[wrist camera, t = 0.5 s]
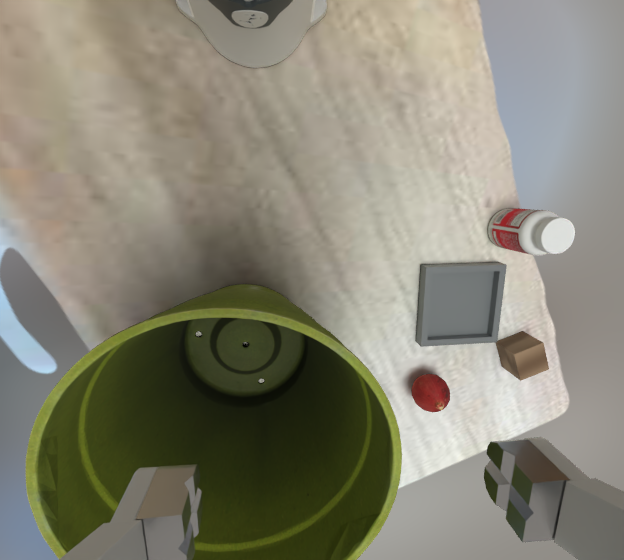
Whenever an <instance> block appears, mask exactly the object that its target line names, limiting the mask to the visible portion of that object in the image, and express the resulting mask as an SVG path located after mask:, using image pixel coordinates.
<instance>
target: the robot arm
mask: <svg viewBox="0 0 624 560" xmlns="http://www.w3.org/2000/svg"><path fill="white" fill-rule="evenodd" d="M176 3H177V7H178V9H179V10H180V11H181V12H182V13H183V14H184V15H185V16H186V17H187V18H189V19H190V20H191V21H193V22H194V23H196V24H197V25H198V26H199V27H200V29H201V30H202V31H203V33H204V35H205V36H206V38H207V39H208V41H209V42H210V43H211V45H212V46H213V47H214V48H215V49H216V50H217V51H218V52H219V53H220V54H221V55H223V56H224V57H225V58H227V59H229V60H230V61H232V62H234V63H236V64H239V65H242V66H246V67H252V68H262V67H268V66H272V65H274V64H277V63H279V62H281V61H283V60H284V59H286V58H287V57H288V56H289V55H290V54H291V53H292V52H293V51H294V50H295V49H296V48H297V47H298V45H299V44H300V42H301V40H302V39H303V37H304V35H305V33H306V32H307V31H308V29H309V28H310V27H312V26H313V25H315V24H316V23H317V22H319V21H320V20H321V19H322V18H323V17H324V16H325V14H326V9H327V3H326V0H176ZM487 455H488V456H489V458H490V459H491V461H490V462H489V463H488V464H487V465H486V467H485V472H484V480H485V484H486V489H487V491H488V493H489V495H490V497H491V499H492V500H493V501H494V503H495V504H496V505H497V506H499V507H500V508H502V509H503V510H505V511H506V520H507V521H508V523H509V524H510V525H511V527H512V528H513V529H514V531H515V532H516V534H517V535H518V537H519V538H520V539H521V541H522V542H532V541H546V540H554V542H555V543H556V544H558V545H559V546H560V547H562V548H563V549H565V550H566V551H567V552H569V553H570V554H571V555H573V556H574V557H575V558H577V559H578V560H624V491H621V490H619V489H617V488H615V487H613V486H611V485H608V484H606V483H604V482H602V481H600V480H598V479H590V478H589V477H587V476H586V475H585V474H584V473H583V472H582V471H581V470H580V469H579V468H577V467H576V466H575V465H574V464H573V463H572V462H571V461H570V460H568V459H567V458H566V457H565V456H564V455H563V454H562V453H561V452H560V451H559V450H557V449H556V448H555V447H554V446H553V445H552V444H551V443H550V442H549V441H547V440H546V439H544V438H542V437H536V438H525V439H518V440H506V441H494V442H490V444H489V445H488V449H487ZM199 481H200V470H199V466H198V465H197V464H196V465H177V466H159V467H146V468H139V469H138V470H137V471H136V472H135V473H134V475H133V477H132V479H131V481H130V483H129V485H128V487H127V489H126V491H125V493H124V495H123V497H122V499H121V501H120V503H119V505H118V507H117V509H116V511H115V513H114V516H113V518H112V520H111V522H110V523H103V524H102V525H101V526H100V527H98V528H97V529H96V530H95V531H93V532H92V533H91V534H90V535H89V536H87V537H86V538H85V539H84V540H82V541H81V542H80V543H79V544H78V545H76V546H75V547H74V548H73V549H71V550H70V551H69V552H68V553H67V554H65V555H64V556H63V557H62V558H60V559H59V560H193V557H194V553H195V545H194V538H195V537H196V536H197V535H198V533H199V530H200V525H201V517H202V491H201V490H200V489H199V488H198V485H199Z"/></svg>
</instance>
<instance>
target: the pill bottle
mask: <svg viewBox="0 0 624 560" xmlns="http://www.w3.org/2000/svg"><path fill="white" fill-rule="evenodd" d="M488 234H489V238H490V240H491V241H492V242H493V243H494V244H495V245H496V246H498V247H501V248H505V249H510V250H514V251H518V252H522V253H527V254H531V255H544V254H547V253H551V254H558V253H562V252H564V251H565V250H567V249H568V248H569V247H570V245H571V244H572V242H573V240H574V237H575V229H574V226H573V224H572V223H571V222H570V221H569V220H568V219H565V218H560V217H558V216H557V215H556V214H555V213H553V212H550V211H544V210H530V209H529V210H528V209H510V208H509V209H504V210H501V211H499V212H498V213H496V214H495V215H494V216H493V218H492V219H491V221H490V223H489V227H488Z"/></svg>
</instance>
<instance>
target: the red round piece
mask: <svg viewBox="0 0 624 560" xmlns="http://www.w3.org/2000/svg"><path fill="white" fill-rule="evenodd" d="M412 396H413V398H414V400H415V402H416V404H417V405H418V406H419V407H421V408H422V409H423V410H426V411H430V412H438V411H441V410H443V409H444V408H445V407H446V406H447V404H448V403H449V401H450V391H449V388H448V386H447V384H446V382H445V381H444V380H443V379H442V378H440V377H439V376H437V375H433V374H426V375H422V376H420V377H418V378H417V379H416V380H415V381H414V383H413V386H412Z"/></svg>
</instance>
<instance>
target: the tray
mask: <svg viewBox="0 0 624 560" xmlns="http://www.w3.org/2000/svg"><path fill="white" fill-rule="evenodd" d="M505 274H506V264H503V263H499V262H485V263H454V264H422V265H421V266H420V281H419V297H418V313H417V328H416V342H417V343H418V344H419V345H420V346H438V345H456V344H474V343H492V342H497V339H498V330H499V322H500V314H501V306H502V298H503V290H504V282H505Z"/></svg>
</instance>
